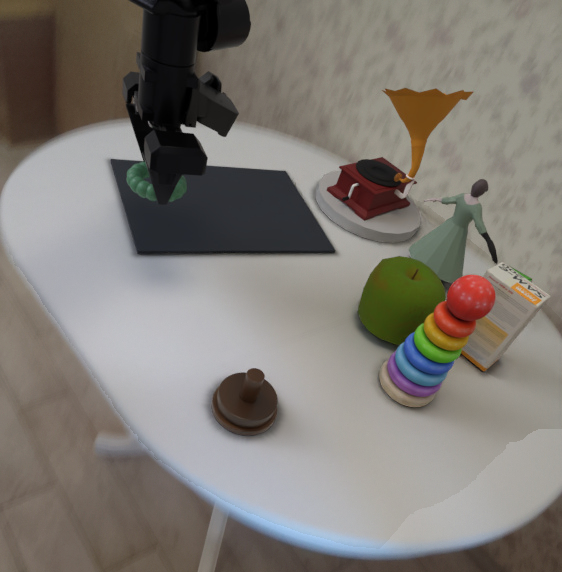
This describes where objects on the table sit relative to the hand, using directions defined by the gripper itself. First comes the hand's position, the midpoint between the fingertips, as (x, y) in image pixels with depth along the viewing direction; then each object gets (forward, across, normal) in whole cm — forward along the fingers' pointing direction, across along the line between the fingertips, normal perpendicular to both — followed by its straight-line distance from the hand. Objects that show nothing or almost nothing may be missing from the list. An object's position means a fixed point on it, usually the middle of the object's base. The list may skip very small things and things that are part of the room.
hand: (156, 186), depth 66 cm
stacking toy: (+10, -29, -28) cm, 42 cm away
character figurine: (+10, -8, -46) cm, 48 cm away
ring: (0, 0, 0) cm, 0 cm away
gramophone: (+10, +12, -43) cm, 46 cm away
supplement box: (+10, -24, -43) cm, 50 cm away
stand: (+10, -29, -5) cm, 31 cm away
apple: (+10, -18, -31) cm, 37 cm away
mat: (+10, +11, -14) cm, 20 cm away
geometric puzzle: (+10, -15, -56) cm, 59 cm away
